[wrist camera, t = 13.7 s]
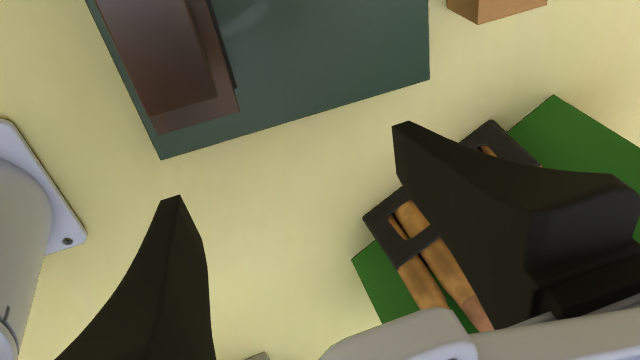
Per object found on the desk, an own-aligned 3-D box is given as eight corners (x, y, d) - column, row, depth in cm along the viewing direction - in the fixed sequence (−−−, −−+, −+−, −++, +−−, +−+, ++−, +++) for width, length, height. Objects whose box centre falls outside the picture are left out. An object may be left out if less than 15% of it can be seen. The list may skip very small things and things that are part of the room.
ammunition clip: (491, 118, 30) (645, 242, 21) (501, 135, 31) (651, 260, 22) (361, 218, 32) (449, 373, 22) (375, 231, 33) (464, 384, 24)
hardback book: (553, 94, 30) (1195, 492, 12) (584, 156, 35) (1086, 516, 16) (351, 260, 34) (597, 769, 15) (402, 297, 38) (643, 727, 20)
